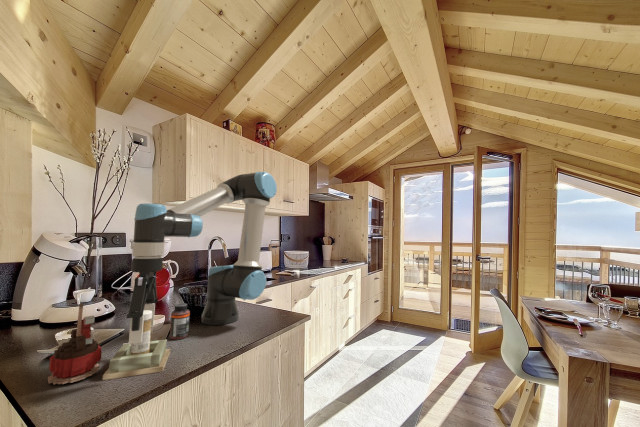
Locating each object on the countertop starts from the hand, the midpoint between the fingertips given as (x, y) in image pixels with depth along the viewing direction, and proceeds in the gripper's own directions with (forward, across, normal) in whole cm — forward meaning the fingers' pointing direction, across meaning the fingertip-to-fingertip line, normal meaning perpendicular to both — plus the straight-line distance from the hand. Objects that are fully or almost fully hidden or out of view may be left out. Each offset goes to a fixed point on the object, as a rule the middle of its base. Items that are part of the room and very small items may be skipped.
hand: (142, 333), depth 74 cm
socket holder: (+8, 0, 0) cm, 8 cm away
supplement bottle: (+9, -19, +8) cm, 22 cm away
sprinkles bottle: (+7, +1, 0) cm, 8 cm away
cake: (+9, +2, -14) cm, 16 cm away
